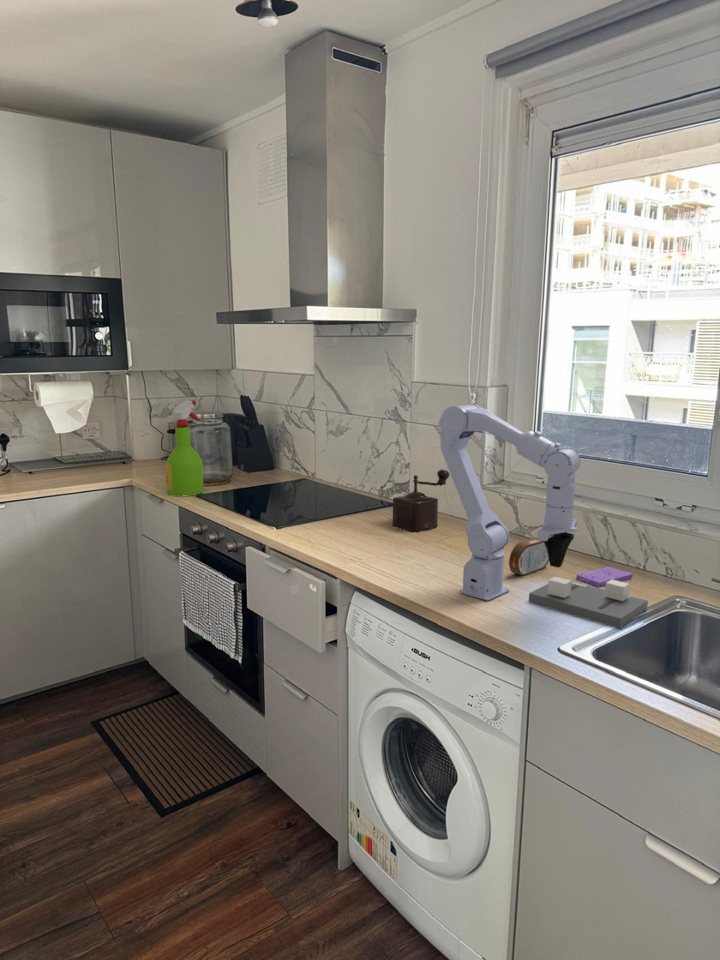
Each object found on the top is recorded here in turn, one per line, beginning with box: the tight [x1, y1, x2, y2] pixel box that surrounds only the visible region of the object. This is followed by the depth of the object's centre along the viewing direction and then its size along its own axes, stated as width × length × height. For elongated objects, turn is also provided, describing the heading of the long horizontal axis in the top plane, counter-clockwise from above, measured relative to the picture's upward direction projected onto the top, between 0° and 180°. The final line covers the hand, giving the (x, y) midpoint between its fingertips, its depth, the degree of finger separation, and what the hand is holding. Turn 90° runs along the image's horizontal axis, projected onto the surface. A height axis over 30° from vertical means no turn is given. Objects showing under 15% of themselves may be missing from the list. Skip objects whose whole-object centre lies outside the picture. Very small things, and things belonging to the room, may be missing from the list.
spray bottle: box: [165, 399, 205, 497], centre depth 265 cm, size 14×18×35 cm
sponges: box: [576, 566, 634, 588], centre depth 171 cm, size 7×13×2 cm, turn 122°
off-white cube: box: [547, 576, 573, 598], centre depth 154 cm, size 3×4×3 cm
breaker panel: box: [528, 581, 649, 629], centre depth 153 cm, size 14×21×2 cm, turn 47°
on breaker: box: [604, 580, 630, 601], centre depth 152 cm, size 3×4×3 cm
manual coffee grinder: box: [392, 469, 451, 533], centre depth 218 cm, size 16×11×18 cm
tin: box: [508, 536, 550, 576], centre depth 176 cm, size 15×3×8 cm, turn 131°
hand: (555, 565), depth 151 cm, fingers closed
